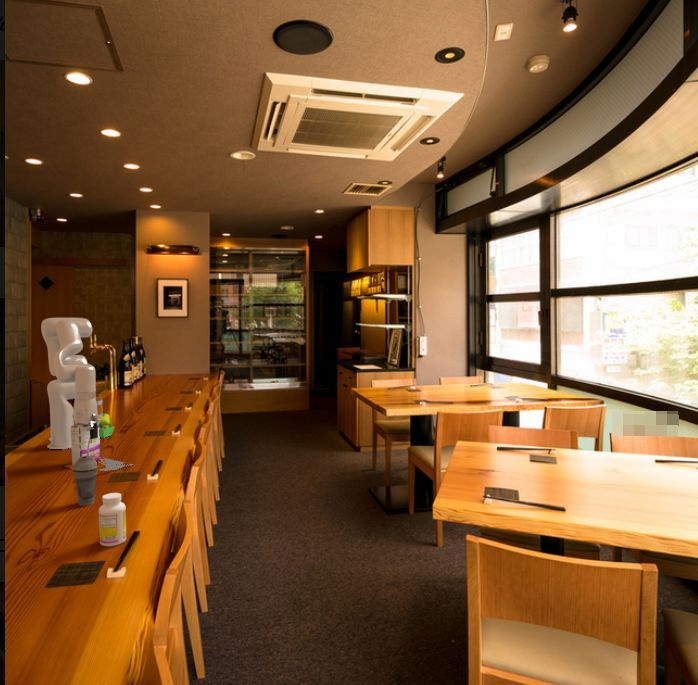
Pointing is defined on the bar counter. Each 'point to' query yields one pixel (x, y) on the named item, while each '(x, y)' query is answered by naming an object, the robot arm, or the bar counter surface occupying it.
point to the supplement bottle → (112, 520)
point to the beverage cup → (85, 479)
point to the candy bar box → (84, 443)
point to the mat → (111, 464)
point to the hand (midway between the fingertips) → (86, 436)
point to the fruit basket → (105, 426)
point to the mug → (99, 405)
